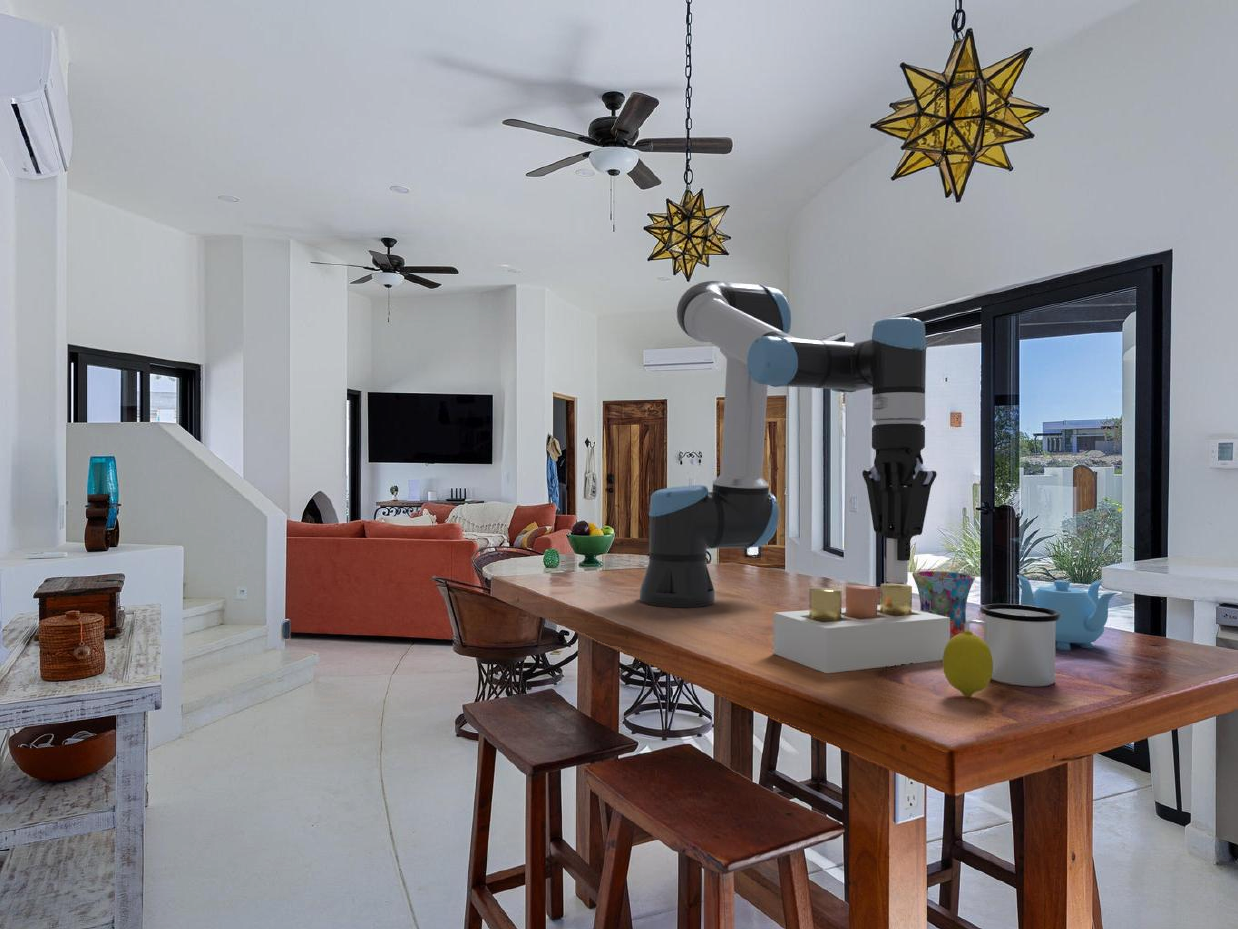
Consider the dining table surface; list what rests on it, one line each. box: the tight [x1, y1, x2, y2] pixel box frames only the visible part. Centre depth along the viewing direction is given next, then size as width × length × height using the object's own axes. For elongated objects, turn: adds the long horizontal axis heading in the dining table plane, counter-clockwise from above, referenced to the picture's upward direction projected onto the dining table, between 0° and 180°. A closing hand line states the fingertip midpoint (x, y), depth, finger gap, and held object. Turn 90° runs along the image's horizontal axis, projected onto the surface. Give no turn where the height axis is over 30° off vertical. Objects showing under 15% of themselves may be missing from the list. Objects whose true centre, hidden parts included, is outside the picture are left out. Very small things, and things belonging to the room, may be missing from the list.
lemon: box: [942, 630, 993, 698], centre depth 95 cm, size 6×6×8 cm
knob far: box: [879, 582, 913, 617], centre depth 118 cm, size 4×4×5 cm
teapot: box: [1016, 574, 1118, 651], centre depth 125 cm, size 13×13×10 cm
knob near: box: [808, 587, 843, 623], centre depth 113 cm, size 4×4×5 cm
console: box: [773, 604, 950, 674], centre depth 115 cm, size 12×22×6 cm, turn 114°
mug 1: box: [911, 570, 976, 639], centre depth 127 cm, size 12×9×11 cm
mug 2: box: [965, 603, 1061, 688], centre depth 105 cm, size 12×10×9 cm
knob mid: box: [845, 585, 879, 620], centre depth 115 cm, size 4×4×5 cm
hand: (896, 582), depth 118 cm, fingers closed
